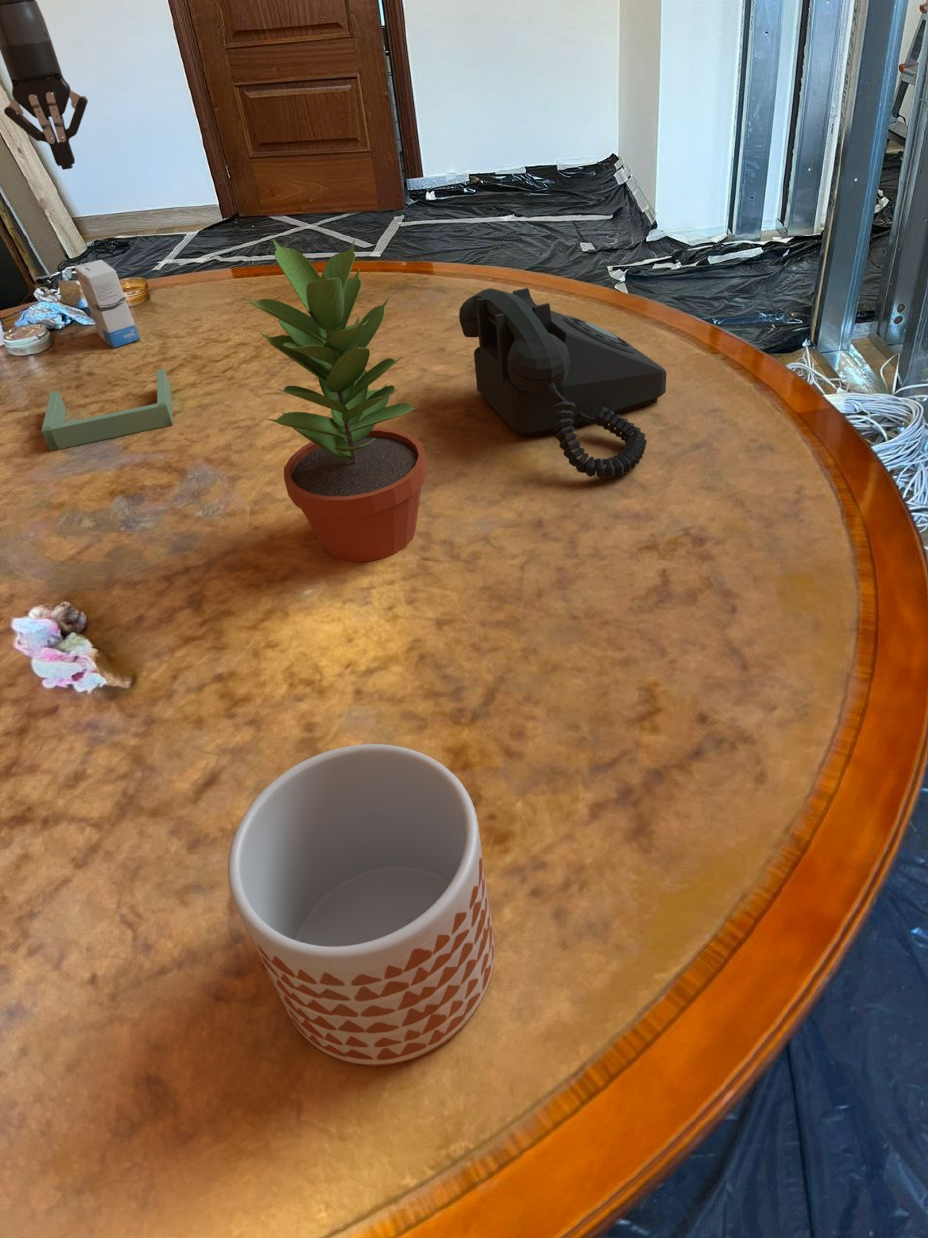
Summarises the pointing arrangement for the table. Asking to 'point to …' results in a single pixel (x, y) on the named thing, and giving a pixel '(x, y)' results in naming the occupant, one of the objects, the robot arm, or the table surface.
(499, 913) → the table surface
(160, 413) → the bracket
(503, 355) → the rotary telephone
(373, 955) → the planter
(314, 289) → the potted plant
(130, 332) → the ink box
